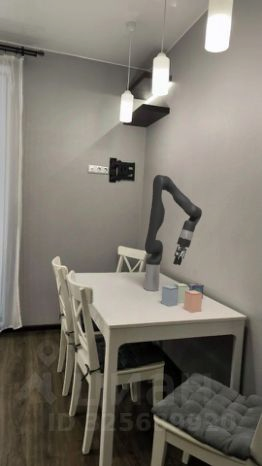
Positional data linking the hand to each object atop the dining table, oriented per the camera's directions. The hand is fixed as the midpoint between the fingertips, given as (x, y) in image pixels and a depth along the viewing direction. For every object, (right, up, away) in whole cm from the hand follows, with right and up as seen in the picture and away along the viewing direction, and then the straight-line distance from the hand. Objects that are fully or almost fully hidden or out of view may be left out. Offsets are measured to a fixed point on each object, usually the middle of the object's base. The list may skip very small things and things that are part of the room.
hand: (176, 264), depth 187 cm
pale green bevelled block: (+2, -22, +1) cm, 22 cm away
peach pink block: (+6, -23, -15) cm, 28 cm away
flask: (+13, -22, +9) cm, 27 cm away
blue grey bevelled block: (-5, -22, -6) cm, 23 cm away
